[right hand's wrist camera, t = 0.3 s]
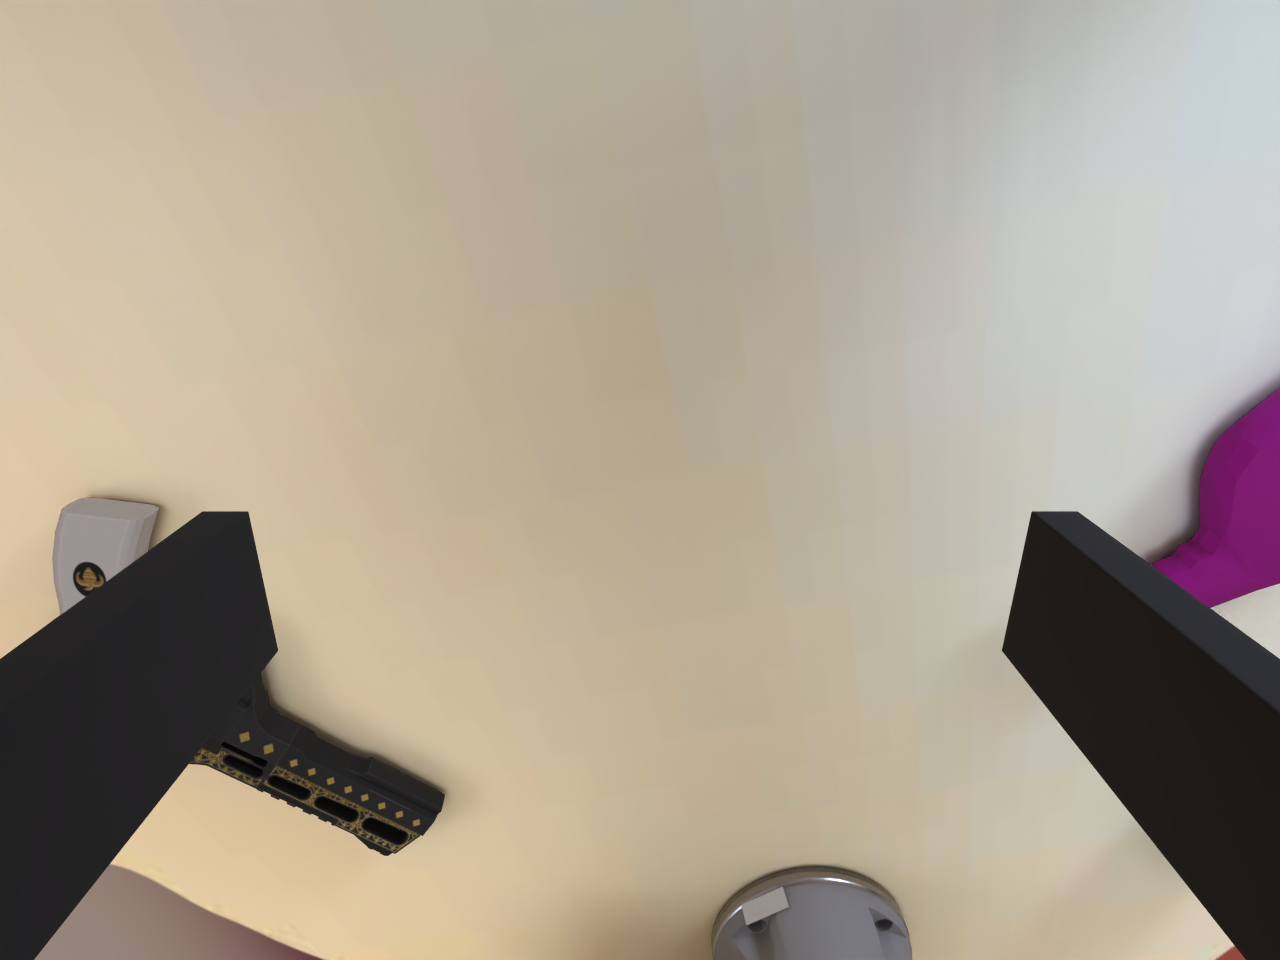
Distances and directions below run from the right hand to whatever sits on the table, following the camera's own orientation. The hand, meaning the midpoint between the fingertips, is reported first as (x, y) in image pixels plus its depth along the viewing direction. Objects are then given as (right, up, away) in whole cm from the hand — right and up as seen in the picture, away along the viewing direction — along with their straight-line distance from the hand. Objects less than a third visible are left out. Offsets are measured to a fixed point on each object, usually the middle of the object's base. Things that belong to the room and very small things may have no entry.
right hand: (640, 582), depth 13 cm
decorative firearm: (-25, -11, +36) cm, 45 cm away
